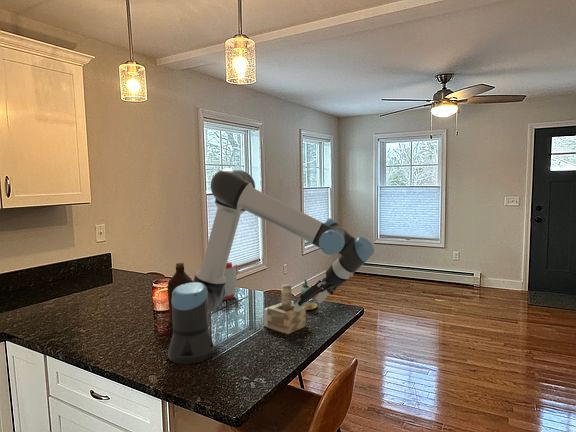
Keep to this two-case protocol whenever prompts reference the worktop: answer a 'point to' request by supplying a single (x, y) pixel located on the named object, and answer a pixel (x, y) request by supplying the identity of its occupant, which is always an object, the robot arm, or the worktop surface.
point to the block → (285, 319)
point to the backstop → (266, 315)
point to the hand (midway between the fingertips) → (307, 304)
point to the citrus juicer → (230, 280)
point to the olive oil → (177, 284)
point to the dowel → (286, 297)
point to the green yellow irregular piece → (311, 305)
